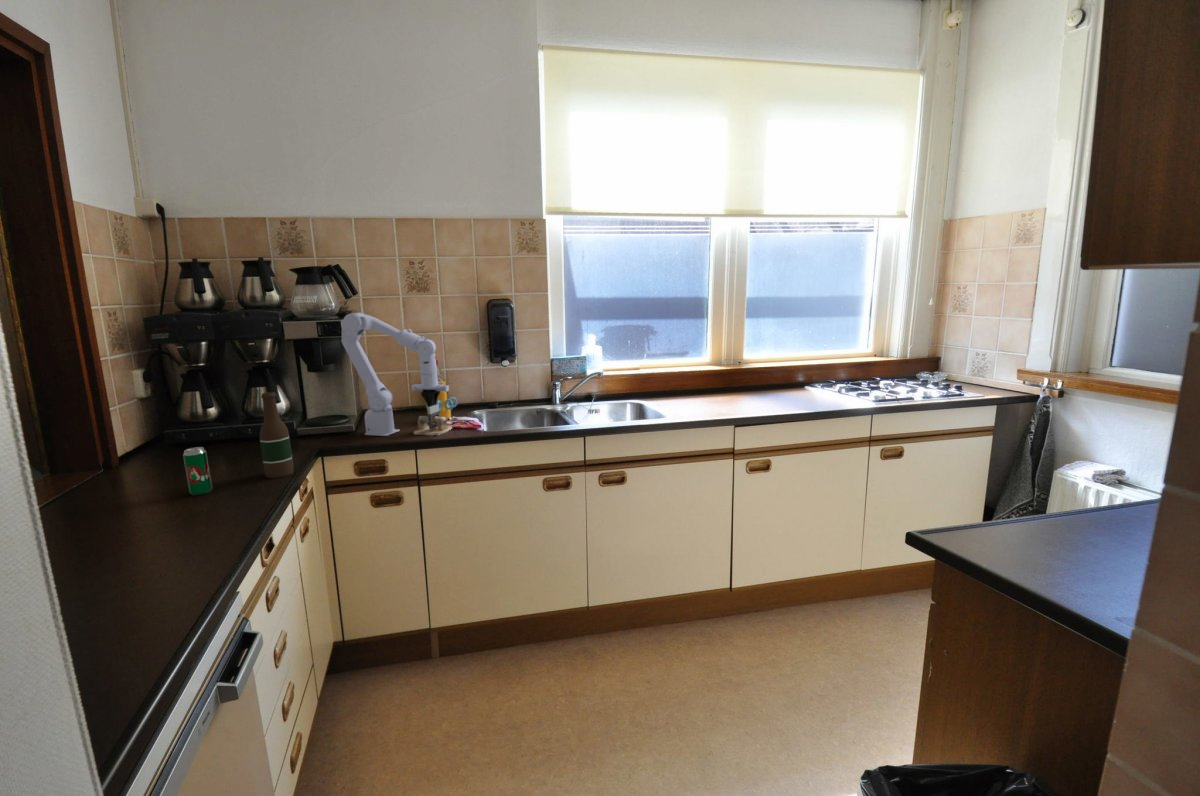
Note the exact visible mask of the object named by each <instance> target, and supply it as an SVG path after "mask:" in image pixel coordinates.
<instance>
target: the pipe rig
mask: <svg viewBox="0 0 1200 796" xmlns="http://www.w3.org/2000/svg"><path fill="white" fill-rule="evenodd" d="M437 423H438V427H436V428H433V429H429V425H428V424H429V421H428V415H419V416H418V420H417V429H416V430H414V431H413V435H418V436H419V435H420V436H422V435H423V436H434V435H436V436H435V437H439V436H441V435H443V434H446V433H447V432H450V431H452V430H453V427H452V426H448V421H447V419H446V418H445V417H438V416H433V424H437ZM451 429H452V430H451ZM449 430H450V431H449ZM440 434H441V435H440ZM438 435H439V436H438Z"/></svg>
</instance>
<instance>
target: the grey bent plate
mask: <svg viewBox="0 0 1200 796" xmlns="http://www.w3.org/2000/svg"><path fill="white" fill-rule="evenodd" d="M427 416H428V421H429V423H428V426H429V429H433V428H436V427H438V423H437V424H434V423H433V417H434V416H438V417H440V412H439V405H433V406H431V407H428V408H427Z"/></svg>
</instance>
